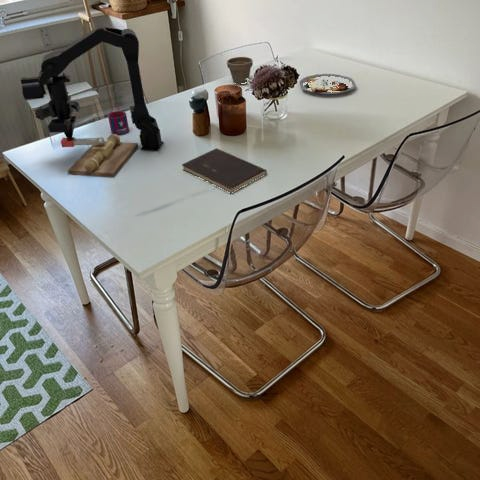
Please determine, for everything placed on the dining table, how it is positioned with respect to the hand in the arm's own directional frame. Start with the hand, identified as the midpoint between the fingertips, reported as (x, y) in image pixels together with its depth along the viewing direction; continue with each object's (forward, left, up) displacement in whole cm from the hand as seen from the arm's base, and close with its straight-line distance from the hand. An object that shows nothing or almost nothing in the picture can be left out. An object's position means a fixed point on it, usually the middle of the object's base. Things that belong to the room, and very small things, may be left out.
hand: (70, 139), depth 175 cm
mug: (-6, -24, -7) cm, 26 cm away
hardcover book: (-54, +3, -7) cm, 55 cm away
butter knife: (-45, +22, -8) cm, 50 cm away
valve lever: (-6, +1, -1) cm, 6 cm away
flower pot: (-42, -78, -7) cm, 89 cm away
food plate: (-81, -76, -7) cm, 111 cm away
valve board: (-11, 0, -7) cm, 13 cm away
